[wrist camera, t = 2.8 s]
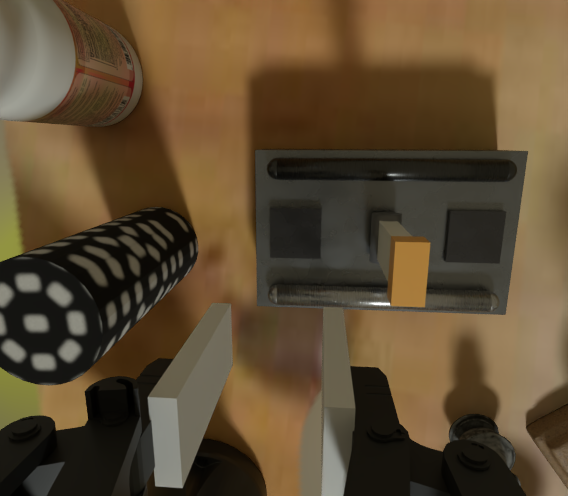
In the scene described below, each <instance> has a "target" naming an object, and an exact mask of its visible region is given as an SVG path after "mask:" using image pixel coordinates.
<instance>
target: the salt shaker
mask: <svg viewBox="0 0 568 496" xmlns="http://www.w3.org/2000/svg"><path fill="white" fill-rule="evenodd" d="M449 439H450V442H452V441H453V440H462V439H464V440H471V441H476V442H478V443H481V444H484V445H486V446H488V447H489V448H491V449H492V450H494V451H496V452H497V453H498V454H499V456H500V457H501V458H502V459H503V460H504V462H505V463H506V465H507V466H508V468H509V469H510V470H511V469H512V467H513V465H514V462H515V451H514V448H513V446H512V445H511V443H510V442H509V441H508V440H507V439H506V438H505V437H503V436H501V435H500V434H499V432H498V428H497V426H496V424H495V423H494V422H493V421H492V420H491V419H490V418H488V417H486V416H484V415H480V414H469V415H465V416H463V417H461V418H459V419H458V420H456V421H455V422H454V423H453V425H452V426H451V428H450V431H449ZM512 474H513V473H512ZM513 476H514V477H515V479H516V480H517V482H518V483H519V485H520V486H521V484H520V481H519V479H518V477H517V476H516V475H515V474H513Z"/></svg>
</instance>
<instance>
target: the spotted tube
mask: <svg viewBox="0 0 568 496" xmlns="http://www.w3.org/2000/svg"><path fill="white" fill-rule="evenodd" d="M197 255H198V243H197V237H196V235H195V232H194V230H193V228H192V227H191V225H190V224H189V223H188V221H187V220H186V219H185V218H184V217H182V216H181V215H180V214H178V213H177V212H175V211H173V210H171V209H167V208H163V207H150V208H146V209H143V210H140V211H137V212H135V213H132V214H129V215H127V216H124V217H121V218H118V219H116V220H113V221H110V222H108V223H105V224H102V225H99V226H97V227H94V228H91V229H89V230H86V231H83V232H80V233H78V234H75V235H72V236H70V237H67V238H64V239H61V240H59V241H56V242H53V243H51V244H48V245H45V246H42V247H40V248H37V249H34V250H32V251H29V252H26V253H23V254H21V255H18V256H15V257H13V258H10V259H7V260H5V261H2V262H0V367H1V368H2V369H4V370H5V371H7V372H8V373H9V374H11V375H13V376H15V377H17V378H20V379H21V380H23V381H27V382H31V383H34V384H40V385H58V384H63V383H67V382H70V381H73V380H74V379H76V378H78V377H80V376H82V375H83V374H84V373H85V372H86V371H87V370H88V369H90V368H91V367H92V366H93V365H94V364H95V363H96V362H97V361H98V360H99V359H100V358H101V357H102V356H103V355H104V354H105V353H106V352H107V351H108V350H109V349H110V348H111V347H112V346H113V345H114V344H115V343H116V342H118V341H119V340H120V339H121V338H122V337H123V336H124V335H125V334H126V333H127V332H128V331H129V330H130V329H131V328H132V327H133V326H134V325H135V324H136V323H137V322H138V321H139V320H140V319H141V318H142V317H143V316H144V315H145V314H146V313H148V312H149V311H150V310H151V309H152V308H153V307H154V306H155V305H156V304H157V303H158V302H159V301H160V300H161V299H162V298H163V297H164V296H165V295H166V294H167V293H168V292H169V291H170V290H171V289H172V288H173V287H174V286H175V285H176V284H177V283H179V282H180V281H181V280H182V279H183V278H184V277H185V276H186V275H187V274H188V273H189V272H190V270H191V269H192V268H193V266H194V264H195V262H196V259H197Z"/></svg>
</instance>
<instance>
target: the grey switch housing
mask: <svg viewBox="0 0 568 496" xmlns="http://www.w3.org/2000/svg"><path fill="white" fill-rule="evenodd" d="M527 155H528V151H509V150H361V149H260V150H255V177H256V254H257V306H275V307H303V308H323V307H339V308H343V309H359V310H387V311H415V312H443V313H471V314H499V315H505V314H506V307H507V299H508V292H509V285H510V278H511V270H512V263H513V256H514V249H515V241H516V234H517V227H518V220H519V213H520V205H521V198H522V191H523V184H524V176H525V169H526V162H527ZM373 212H396V213H401V214H402V223H401V225H402V226H403V227H404V228H405V229H406V230H407V231H408V232H409V234H410V235H411V236H415V237H425V238H426V239H427V240H428V241H429V242H430V254H429V265H428V277H427V288H426V299H425V307H402V306H391V305H390V303H389V300H388V298H387V290H388V281H387V279H386V277H385V275H384V273H383V271H382V269H381V266H380V265H379V264H374V263H372V262H370V261H369V257H370V239H371V220H372V213H373Z"/></svg>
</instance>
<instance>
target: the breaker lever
mask: <svg viewBox="0 0 568 496" xmlns="http://www.w3.org/2000/svg"><path fill="white" fill-rule="evenodd" d="M401 223H402V214H401V213H396V212H373V213H372V220H371V239H370V257H369V261H370V262H372V263H374V264H379V265H380V266H381V269H382V271H383V273H384V275H385V277H386V279H387V281H388V290H387V298H388V300H389V303H390V305H391V306H402V307H425V299H426V288H427V277H428V265H429V254H430V242H429V241H428V240H427V239H426V238H425V237H415V236H411V235H410V234H409V232H408V231H407V230H406V229H405V228H404V227H403V226H402V225H401Z"/></svg>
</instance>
